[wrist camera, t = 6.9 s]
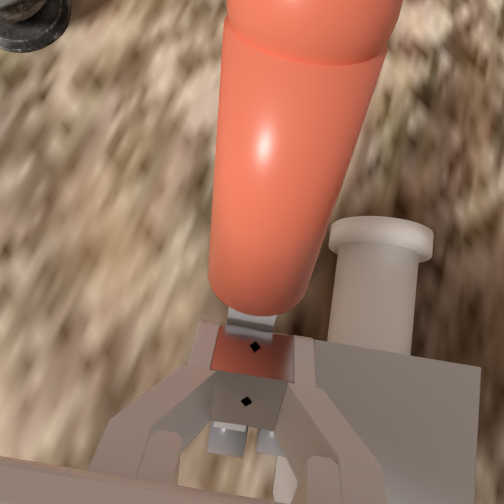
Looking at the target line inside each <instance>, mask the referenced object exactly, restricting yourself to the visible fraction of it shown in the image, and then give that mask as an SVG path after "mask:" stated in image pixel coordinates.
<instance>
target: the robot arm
mask: <svg viewBox="0 0 504 504" xmlns="http://www.w3.org/2000/svg"><path fill="white" fill-rule="evenodd" d="M209 421H216V422H224V423H231V424H238V425H244V426H249V427H255V428H260V429H265V430H270V431H274V435H275V437H276V439H277V441H278V443H279V445H280V447H281V449H282V451H283V453H284V455H285V457H286V459H287V461H288V463H289V465H290V467H291V469H292V471H293V473H294V475H295V477H296V479H297V481H298V483H299V484H298V486H297V489H296V491H295V494H294V497H293V499H292V502H291V504H388V503H387V497H386V491H385V486H384V480H383V474H382V469H381V465H380V464H379V462H378V461H377V460H376V458H375V457H374V456H373V454H372V453H371V452H370V450H369V449H368V448H367V446H366V445H365V444H364V443H363V441H362V440H361V439H360V437H359V436H358V435H357V433H356V432H355V431H354V429H353V428H352V427H351V426H350V424H349V423H348V422H347V420H346V419H345V418H344V416H343V415H342V414H341V412H340V411H339V410H338V408H337V407H336V406H335V405H334V403H333V402H332V401H331V399H330V398H329V397H328V395H327V394H326V393H325V391H324V390H323V389H322V388H317V387H316V370H315V352H314V340H313V338H310V337H304V336H297V335H289V334H283V333H276V332H270V331H264V330H258V329H252V328H246V327H241V326H236V325H231V324H226V323H218V322H213V321H208V320H203V319H201V321H200V322H199V325H198V329H197V332H196V336H195V340H194V343H193V347H192V350H191V354H190V358H189V361H188V365H187V366H185V365H181V366H180V367H178V368H177V369H176V370H174V371H173V372H172V373H170V374H169V375H168V376H166V377H165V378H164V379H162V380H161V381H160V382H159V383H157V384H156V385H155V386H153V387H152V388H151V389H149V390H148V391H147V392H145V393H144V394H143V395H141V396H140V397H139V398H138V399H136V400H135V401H134V402H132V403H131V404H130V405H128V406H127V407H126V408H124V409H123V410H122V411H121V412H119V413H118V414H117V415H115V416H114V417H113V418H111V419H110V420H109V423H108V425H107V427H106V430H105V432H104V434H103V437H102V439H101V441H100V444H99V446H98V448H97V451H96V453H95V455H94V458H93V460H92V462H91V465H90V467H89V469H88V471H87V470H81V469H75V468H68V467H62V466H56V465H50V464H44V463H38V462H32V461H26V460H20V459H14V458H8V457H2V456H0V504H286V503H280V502H274V501H268V500H262V499H256V498H250V497H244V496H238V495H232V494H226V493H220V492H214V491H208V490H202V489H196V488H190V487H184V486H178V475H179V465H180V454H181V453H182V451H183V450H184V449H185V448H186V447H187V446H188V445H189V444H190V443H191V442H192V440H193V439H194V438H195V437H196V436H197V435H198V434H199V433H200V432H201V430H202V429H203V428H204V427H205V426H206V425H207V424H208V423H209Z"/></svg>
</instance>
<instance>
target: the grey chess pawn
mask: <svg viewBox="0 0 504 504" xmlns="http://www.w3.org/2000/svg"><path fill="white" fill-rule="evenodd" d="M70 16H71V3H70V0H0V49H2V50H4V51H10V52H15V53H22V52H31V51H35V50H39V49H42V48H44V47H45V46H47V45H49V44H51V43H53V42H54V41H55V40H56V39H57V38H58V37H59V36H60V35H61V34H62V33H63V31H64V30H65V28H66V27H67V25H68V22H69V19H70Z"/></svg>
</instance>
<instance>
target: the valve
mask: <svg viewBox="0 0 504 504" xmlns="http://www.w3.org/2000/svg"><path fill="white" fill-rule="evenodd" d="M433 239H434V233H433V231H432V230H431V229H430V228H428V227H426V226H424V225H422V224H419V223H416V222H413V221H409V220H405V219H399V218H393V217H384V216H355V217H348V218H343V219H339V220H337V221H335V222H334V223H332V225H331V231H330V238H329V249H330V250H331V251H332V252H334V253H336V254H338V258H337V266H336V274H335V281H334V289H333V297H332V305H331V313H330V321H329V329H328V337H327V341H321V340H314V352H315V370H316V387H317V388H322V389H323V390H324V391H325V393H326V394H327V395H328V397H329V398H330V399H331V401H332V402H333V403H334V405H335V406H336V407H337V408H338V410H339V411H340V412H341V414H342V415H343V416H344V418H345V419H346V420H347V422H348V423H349V424H350V426H351V427H352V428H353V429H354V431H355V432H356V433H357V435H358V436H359V437H360V439H361V440H362V441H363V443H364V444H365V445H366V446H367V448H368V449H369V450H370V452H371V453H372V454H373V456H374V457H375V458H376V460H377V461H378V462H379V464H380V465H381V469H382V474H383V480H384V486H385V491H386V497H387V503H388V504H474V492H475V474H476V455H477V436H478V418H479V399H480V381H481V367H476V366H470V365H464V364H458V363H452V362H446V361H440V360H434V359H428V358H422V357H416V356H410V355H411V344H412V332H413V320H414V309H415V297H416V286H417V274H418V263H421V262H425V261H428V260H430V259H431V258H432V251H433ZM256 452H258V453H264V454H270V455H276V456H278V459H277V466H276V473H275V480H274V487H273V495H274V499H275V502H280V503H286V504H291V502H292V499H293V497H294V494H295V491H296V489H297V486H298V484H299V483H298V481H297V479H296V477H295V475H294V473H293V471H292V469H291V467H290V465H289V463H288V461H287V459H286V457H285V455H284V453H283V451H282V449H281V447H280V445H279V443H278V441H277V439H276V437H275V435H274V431H270V430H265V429H260V428H257V435H256Z"/></svg>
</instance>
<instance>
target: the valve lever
mask: <svg viewBox="0 0 504 504" xmlns="http://www.w3.org/2000/svg"><path fill="white" fill-rule="evenodd" d="M226 1H227V10H228V14H227V16H226V17H225V20H224V29H223V45H222V60H221V76H220V92H219V107H218V123H217V139H216V154H215V170H214V186H213V201H212V217H211V233H210V248H209V264H208V279H209V283H210V286H211V288H212V290H213V292H214V293H215V294H216V296H217V297H218V298H219V299H220V300H221V301H222V302H223V303H224V304H226V305H227V306H229V310H228V317H227V324H231V325H236V326H241V327H246V328H252V329H258V330H264V331H270V332H272V331H273V327H274V324H275V320H276V316H277V315H279V314H282V313H285V312H287V311H289V310H291V309H292V308H294V307H295V306H296V305H297V304H298V303H299V302H300V301H301V300H302V299H303V297H304V295H305V293H306V291H307V288H308V285H309V282H310V279H311V276H312V273H313V270H314V267H315V264H316V261H317V258H318V255H319V252H320V249H321V246H322V243H323V240H324V237H325V234H326V231H327V228H328V225H329V222H330V219H331V216H332V213H333V210H334V208H335V205H336V202H337V199H338V196H339V193H340V190H341V187H342V184H343V181H344V178H345V175H346V172H347V169H348V166H349V163H350V160H351V157H352V154H353V151H354V148H355V145H356V142H357V139H358V136H359V133H360V130H361V127H362V124H363V121H364V118H365V115H366V112H367V109H368V106H369V104H370V101H371V98H372V95H373V92H374V89H375V86H376V83H377V80H378V77H379V74H380V71H381V68H382V65H383V62H384V59H385V56H386V53H387V43H386V42H387V41H388V39H389V37H390V35H391V34H392V32H393V30H394V27H395V25H396V22H397V20H398V17H399V14H400V10H401V6H402V2H403V0H226ZM247 432H248V426H244V425H238V424H231V423H224V422H216V421H211V427H210V433H209V440H208V446H207V452H208V453H214V454H220V455H226V456H232V457H238V458H242V457H243V453H244V449H245V444H246V438H247Z"/></svg>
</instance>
